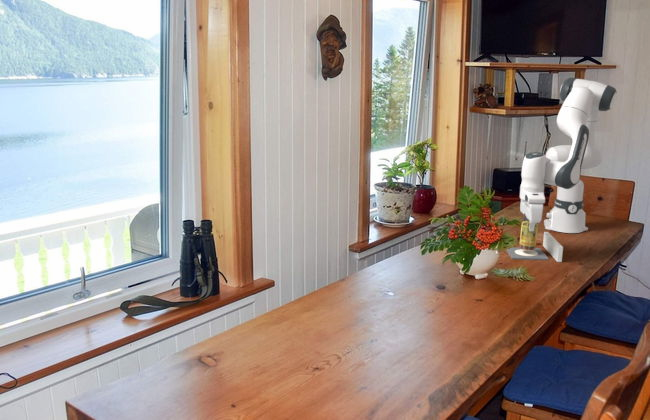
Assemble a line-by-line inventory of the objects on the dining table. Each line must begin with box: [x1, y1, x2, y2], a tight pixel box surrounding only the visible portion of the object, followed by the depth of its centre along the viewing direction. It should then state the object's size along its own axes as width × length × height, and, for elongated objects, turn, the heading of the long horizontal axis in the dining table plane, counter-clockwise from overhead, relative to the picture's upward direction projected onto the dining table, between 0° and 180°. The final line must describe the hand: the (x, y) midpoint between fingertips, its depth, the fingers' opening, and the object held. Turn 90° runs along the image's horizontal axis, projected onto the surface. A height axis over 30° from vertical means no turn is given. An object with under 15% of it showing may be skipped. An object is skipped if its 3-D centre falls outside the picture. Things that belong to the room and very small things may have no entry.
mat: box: [505, 246, 550, 261], centre depth 247 cm, size 14×14×1 cm
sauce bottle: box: [518, 213, 539, 250], centre depth 245 cm, size 7×6×20 cm
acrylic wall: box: [542, 231, 564, 263], centre depth 248 cm, size 22×2×6 cm, turn 175°
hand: (528, 228), depth 245 cm, fingers closed on sauce bottle, 6 cm apart
